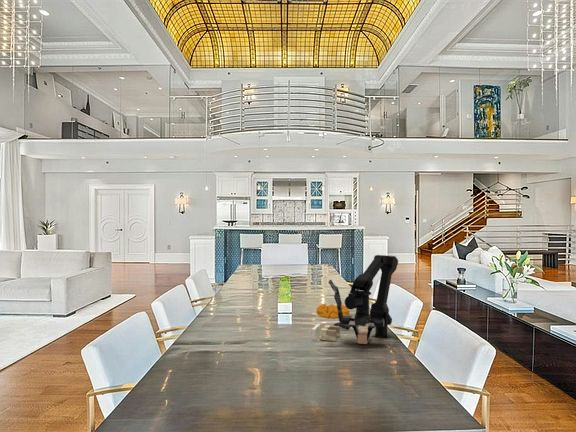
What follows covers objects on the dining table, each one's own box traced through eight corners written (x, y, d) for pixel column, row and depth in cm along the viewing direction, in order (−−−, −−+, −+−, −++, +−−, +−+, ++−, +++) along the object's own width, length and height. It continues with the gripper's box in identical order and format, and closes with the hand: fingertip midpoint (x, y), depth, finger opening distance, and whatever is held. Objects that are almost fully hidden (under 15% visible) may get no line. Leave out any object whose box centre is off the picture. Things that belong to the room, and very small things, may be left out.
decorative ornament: (317, 311, 232) (316, 300, 262) (317, 319, 232) (316, 308, 262) (351, 312, 231) (346, 300, 261) (351, 320, 231) (346, 308, 261)
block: (325, 334, 201) (325, 325, 201) (339, 335, 199) (339, 326, 199) (320, 339, 193) (320, 329, 193) (335, 341, 190) (335, 331, 190)
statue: (350, 331, 208) (352, 282, 208) (326, 329, 211) (328, 280, 210) (351, 326, 218) (353, 279, 218) (328, 324, 221) (330, 277, 220)
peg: (357, 343, 186) (357, 334, 186) (361, 337, 196) (361, 328, 196) (366, 344, 185) (366, 335, 185) (369, 337, 195) (369, 329, 195)
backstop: (317, 334, 203) (317, 323, 203) (320, 334, 202) (320, 324, 202) (311, 339, 194) (311, 329, 194) (315, 340, 193) (315, 329, 193)
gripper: (338, 308, 183) (338, 343, 183) (381, 311, 177) (381, 347, 177) (343, 302, 194) (343, 336, 194) (384, 305, 187) (384, 340, 187)
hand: (362, 340), depth 188 cm, fingers closed on peg, 4 cm apart
